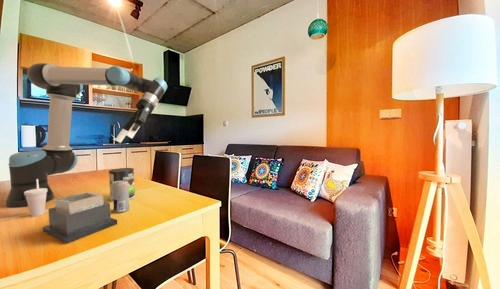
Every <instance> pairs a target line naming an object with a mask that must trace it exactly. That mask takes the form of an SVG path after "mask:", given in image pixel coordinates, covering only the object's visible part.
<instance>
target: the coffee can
mask: <svg viewBox="0 0 500 289" xmlns="http://www.w3.org/2000/svg"><path fill="white" fill-rule="evenodd" d="M108 177H109V179H108V180H109V194H110V195H109V198H110V199H109V200H110V202H113V182H115V181H122V180H126V181H127V182H128V191H129V201H130V200H132V199H134V198H135V197H136V196H135V168H134V167H133V168H132V167H119V168H113V169H110V170H108Z"/></svg>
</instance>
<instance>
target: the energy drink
mask: <svg viewBox="0 0 500 289" xmlns="http://www.w3.org/2000/svg"><path fill="white" fill-rule="evenodd" d="M112 202H113V213H115V214H121V213H122V214H123V213H126V212H128V211H129V210H130V200H129V191H128V182H127V181H126V180H122V181H115V182H113V201H112Z"/></svg>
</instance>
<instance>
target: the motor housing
mask: <svg viewBox="0 0 500 289" xmlns="http://www.w3.org/2000/svg"><path fill="white" fill-rule="evenodd" d="M54 206H55V207H51V208H48V222H49V224H48V225H45V226H43V227H42V233H45V234H47V235H49V236H51V237H52V238H55V239H56V240H58V241H61V242H62V243H65V244H66V245H68V244H69V243H72V242H75V241H77V240H79V239H80V240H81V239H83V238H85V237H87V236H91V235H93V234H95V233H98V232H101V231H103V230H106V229H109V228H110V227H114V226H116V225H118V219H116V218H112V217H111V215H112V214H111V203H110V202H107V201H104V194H101V193H96V192H92V191H86V192H81V193H75V194H72V195H67V196H63V197H59V198H55V199H54Z"/></svg>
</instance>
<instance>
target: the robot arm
mask: <svg viewBox="0 0 500 289" xmlns="http://www.w3.org/2000/svg"><path fill="white" fill-rule="evenodd" d="M26 75H27V79H28V80H29V81H30V83H31V84H32V85H34V86H35V87H37V88H39V89H42V90H46V92H45V93H46V96H47V97H49V109H48V122H47V123H48V124H47V126H48V127H47V138H46V145H44V146H43V147H42V150H40V149H38V150H29V151H20V152H16V153H14V154H11V155H10V156H9V157H8V169H9V178H10V190H9V192H8V195H7V198H6V200H5V205H6V207H7V208H17V207H18V208H19V207H26V206H28V203H27V199H26V196H25V195H24V192H25V191H28V190H33V189H37V184H36V179H38V183H39V189H40V188H47V190H48V191H47V193H46V202H49V201H52V200H53V199H54V198H55V196H54V192H53V190H52V187H51V186H50V185H49V183H48V181H49V179H48V176H52V175H53V176H54V175H57V174H62V173H63V174H64V173H66V172H69V171H71V170H73V169H74V168H76V166H77V163H78V156H77V155H76V153H75V152H74V151H73V147H71V146H70V142H71V141H70V140H71V127H72V126H71V124H72V113H73V102H74V101H75V100H77V98H78V97H77V96H78V95H80V94H81V93H82V92H83V88H84V85H85V86H115V87H122V88H123V87H124V88H126V89H129V91H130V90H131V91H134V92H137V93H141V94H142V95H141V96H140V98H139V100H138V101H137V102H136V104H135V107H136V109H137V110H136V111H135V112H133V114H132V115H131V116H130V118H129V119H128V120H127V121H126V122H125V124H123V126H122V127H121V131H120V132H119V133H118V134H117V136H116V138H114V141H116V142H118V143H119V144H121V143H122V142H123V140H125V138H126V137H129V138H130V139H132V140H133V138H134V137H135V135H136V133H137V132H138V130H139V129H140V128H141V126H142V125H144V124H145V122H146V119H147V117H148V115H152V112H153V111H154V110H155V107H156V106H159V104H158V103H159V101H160V100H161V99H162V97H163V96H164V94H166V93H165V92H166V91H167V89H168V85H167V82H166V81H165V80H164V79H162V78H160V77H155V78H154V79H153V80H150V79H147V78H144V77H142V76H138V75H137V74H135V73H133V72H131V71H129V70H127V69H125V68H123V67H121V66H117V65H112V66H110V67H109V68H105V67H85V66H84V67H81V66H58V65H56V64H55V63H54V64H53V63H42V62H41V63H40V62H38V63H34V64H31V65H30V66H29V67H28V69H27V71H26Z"/></svg>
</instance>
